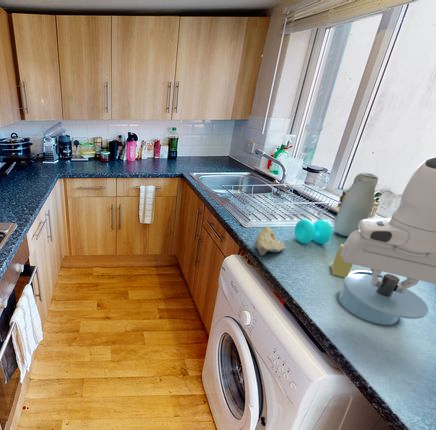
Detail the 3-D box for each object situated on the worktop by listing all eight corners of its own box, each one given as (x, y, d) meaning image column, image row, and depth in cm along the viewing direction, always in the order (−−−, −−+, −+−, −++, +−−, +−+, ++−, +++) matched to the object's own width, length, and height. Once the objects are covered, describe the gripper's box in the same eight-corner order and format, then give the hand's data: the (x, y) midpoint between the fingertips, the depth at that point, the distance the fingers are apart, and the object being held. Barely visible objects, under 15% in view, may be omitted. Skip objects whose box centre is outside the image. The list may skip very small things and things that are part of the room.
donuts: (290, 235, 124) (297, 215, 120) (314, 236, 124) (321, 215, 120) (303, 247, 115) (311, 225, 111) (328, 248, 115) (337, 226, 111)
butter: (344, 270, 101) (355, 246, 97) (346, 278, 97) (357, 253, 93) (330, 267, 103) (340, 243, 99) (332, 274, 99) (342, 249, 95)
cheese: (267, 245, 120) (244, 224, 117) (284, 238, 116) (260, 216, 112) (270, 274, 110) (245, 252, 106) (289, 267, 105) (263, 244, 101)
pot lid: (412, 290, 69) (424, 270, 66) (437, 331, 57) (452, 309, 55) (338, 271, 75) (346, 252, 73) (347, 305, 64) (357, 284, 61)
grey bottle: (351, 231, 130) (375, 171, 118) (363, 241, 121) (391, 178, 109) (326, 228, 132) (348, 169, 120) (336, 238, 123) (361, 176, 111)
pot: (390, 301, 87) (402, 279, 83) (404, 332, 76) (419, 307, 73) (336, 287, 93) (345, 265, 89) (342, 313, 82) (353, 289, 79)
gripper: (477, 241, 57) (442, 296, 63) (351, 218, 66) (331, 267, 72) (495, 256, 52) (456, 314, 58) (356, 229, 61) (334, 281, 67)
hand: (386, 288), depth 65 cm, fingers closed on pot lid, 2 cm apart
